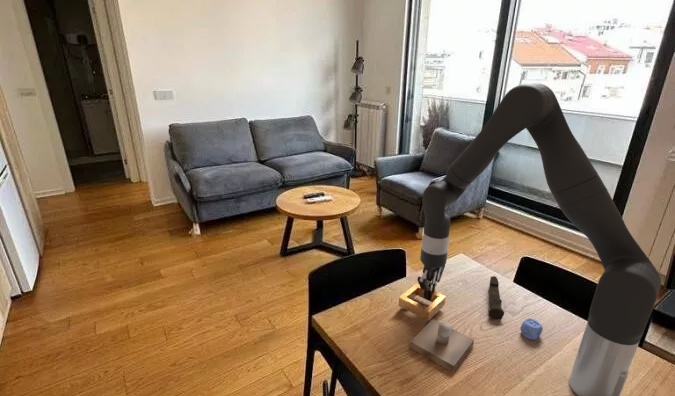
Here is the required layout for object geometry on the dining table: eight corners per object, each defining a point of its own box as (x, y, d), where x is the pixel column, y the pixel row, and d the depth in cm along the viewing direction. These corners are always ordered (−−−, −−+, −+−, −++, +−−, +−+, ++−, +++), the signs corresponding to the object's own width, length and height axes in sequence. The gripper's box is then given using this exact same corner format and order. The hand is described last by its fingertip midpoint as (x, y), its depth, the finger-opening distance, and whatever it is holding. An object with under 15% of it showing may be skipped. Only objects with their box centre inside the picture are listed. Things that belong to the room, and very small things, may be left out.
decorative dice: (532, 342, 99) (536, 330, 98) (519, 333, 102) (521, 321, 101) (541, 336, 101) (544, 324, 100) (527, 328, 104) (530, 316, 103)
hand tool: (502, 322, 107) (505, 309, 105) (487, 318, 108) (490, 305, 106) (500, 287, 123) (503, 275, 122) (487, 284, 125) (490, 272, 123)
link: (444, 304, 111) (445, 296, 110) (428, 320, 104) (429, 312, 103) (415, 291, 117) (416, 283, 116) (398, 305, 110) (399, 297, 109)
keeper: (473, 345, 97) (477, 324, 95) (452, 372, 89) (456, 349, 86) (432, 324, 105) (434, 304, 102) (409, 347, 96) (412, 325, 94)
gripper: (435, 260, 100) (428, 313, 106) (457, 243, 110) (450, 292, 116) (411, 251, 105) (406, 302, 111) (434, 235, 114) (428, 283, 120)
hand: (428, 297), depth 113 cm, fingers closed on link, 1 cm apart
